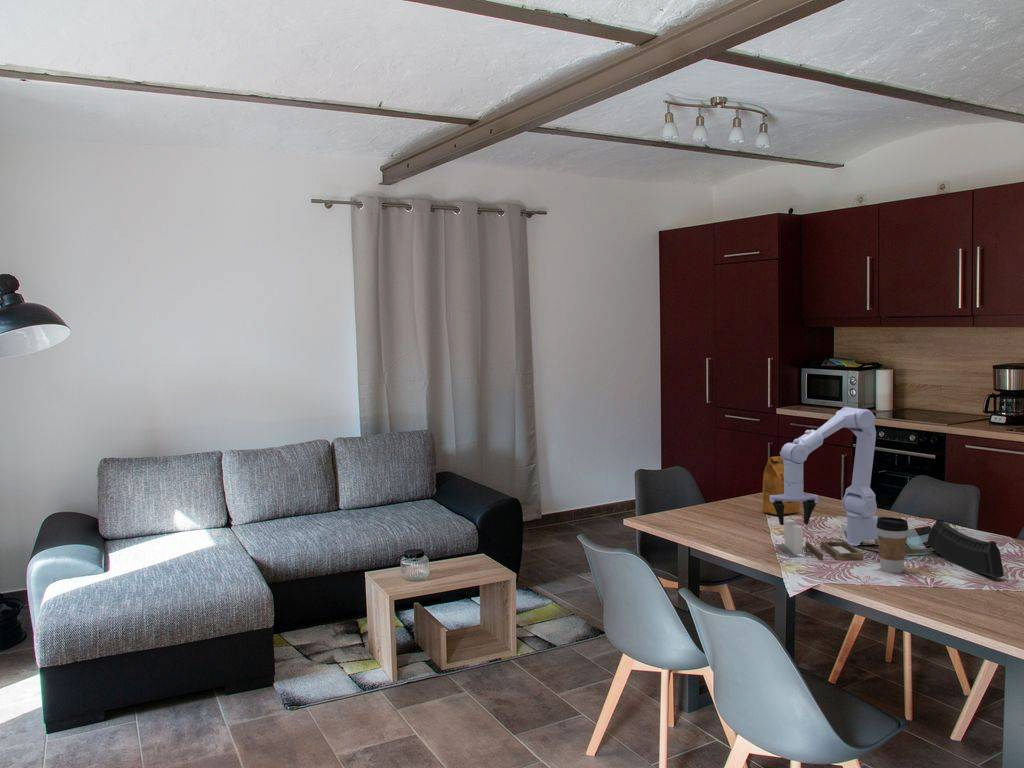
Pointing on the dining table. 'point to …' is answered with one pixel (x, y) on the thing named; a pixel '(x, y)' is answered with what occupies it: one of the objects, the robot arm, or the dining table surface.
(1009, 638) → the dining table surface
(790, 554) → the mat
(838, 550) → the offcut upper
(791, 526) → the white rectangular block
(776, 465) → the coffee package
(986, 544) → the magazine
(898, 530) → the coffee cup
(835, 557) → the brown wooden frame
